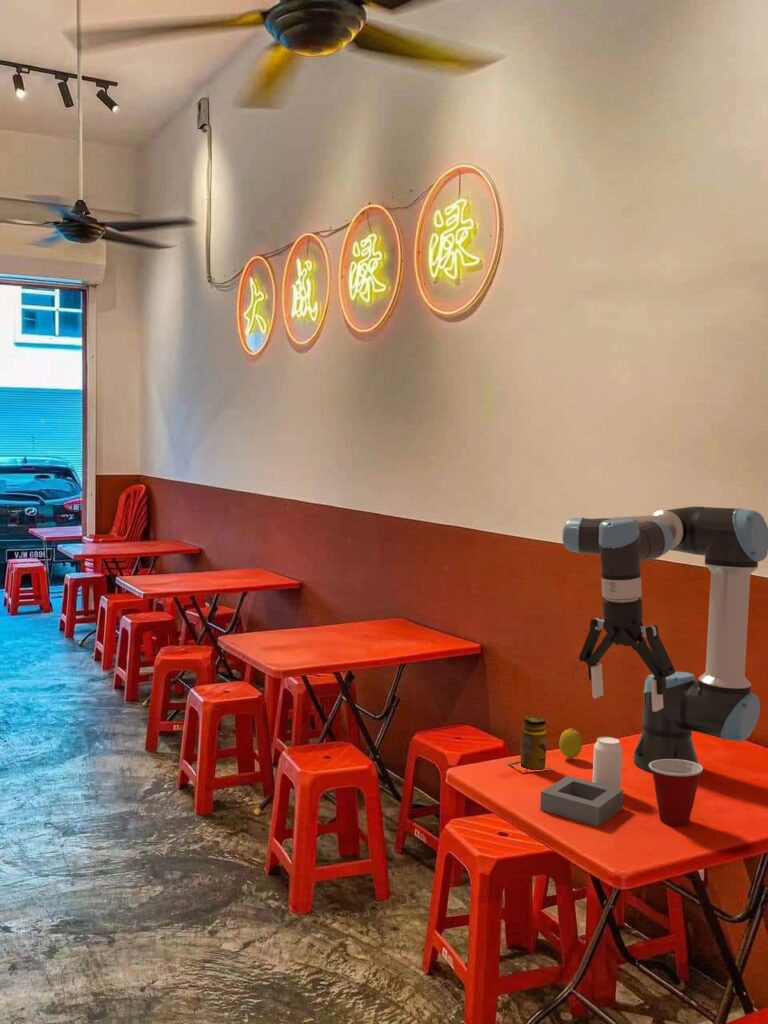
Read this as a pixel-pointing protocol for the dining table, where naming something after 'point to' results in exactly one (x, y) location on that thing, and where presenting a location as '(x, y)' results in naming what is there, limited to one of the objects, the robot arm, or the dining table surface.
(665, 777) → the plastic cup
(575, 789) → the square frame
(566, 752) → the lemon
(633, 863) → the dining table surface
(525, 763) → the condiment
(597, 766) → the beverage can
